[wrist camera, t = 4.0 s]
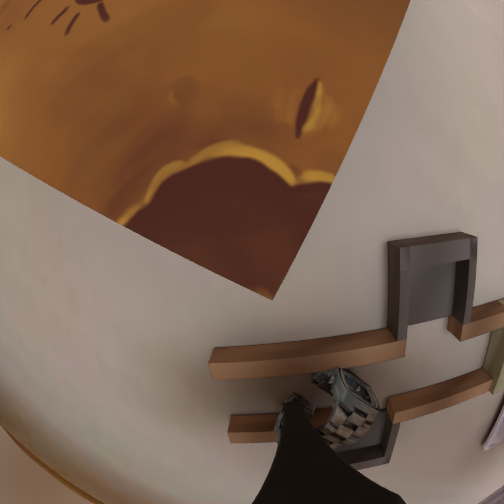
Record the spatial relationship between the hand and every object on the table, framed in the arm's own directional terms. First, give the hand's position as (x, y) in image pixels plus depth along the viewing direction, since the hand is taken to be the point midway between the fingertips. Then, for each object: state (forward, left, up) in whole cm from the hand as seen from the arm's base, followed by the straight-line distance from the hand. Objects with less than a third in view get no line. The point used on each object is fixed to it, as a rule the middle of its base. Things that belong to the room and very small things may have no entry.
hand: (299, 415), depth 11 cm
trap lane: (-5, +1, -4) cm, 6 cm away
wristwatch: (-1, +1, -4) cm, 5 cm away
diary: (+5, -20, -4) cm, 21 cm away
